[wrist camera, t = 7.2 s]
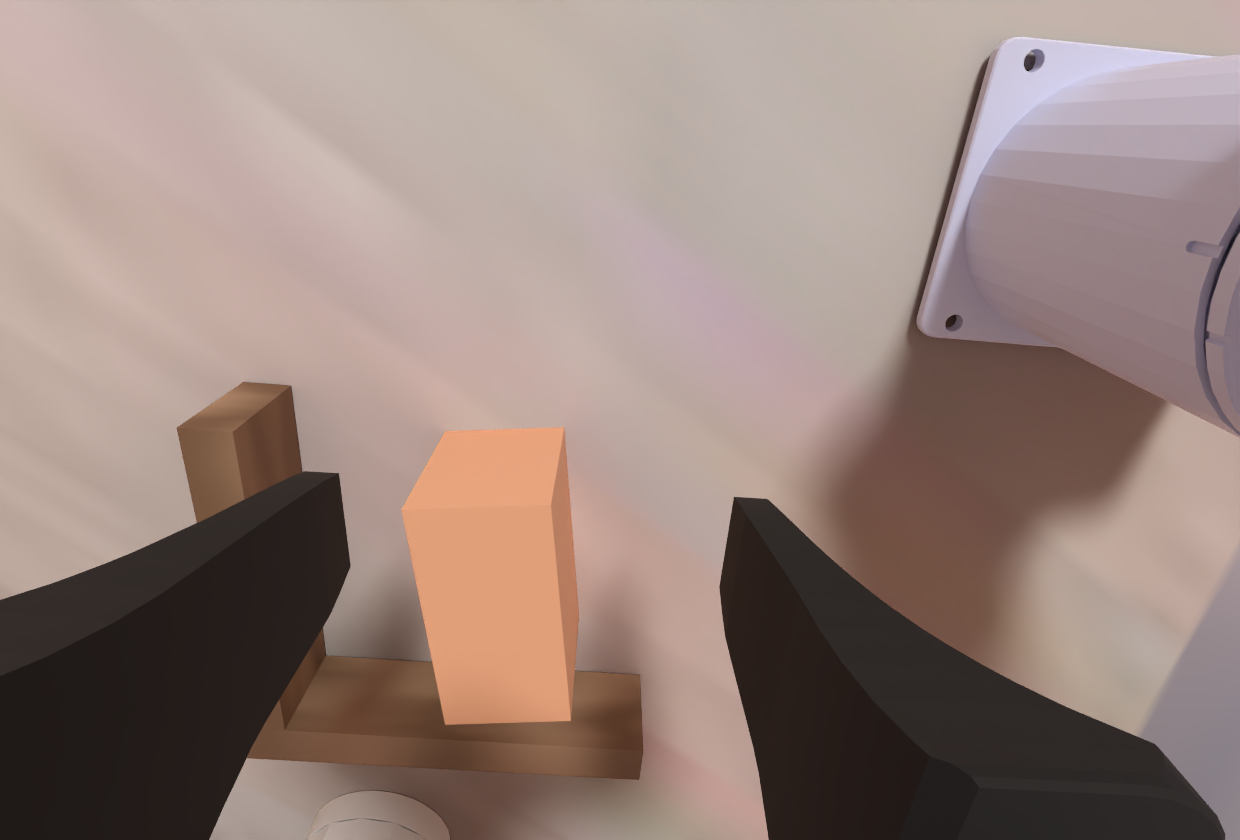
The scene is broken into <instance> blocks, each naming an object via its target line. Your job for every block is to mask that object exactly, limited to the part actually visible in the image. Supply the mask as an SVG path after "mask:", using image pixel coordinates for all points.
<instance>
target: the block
mask: <svg viewBox="0 0 1240 840" xmlns="http://www.w3.org/2000/svg"><path fill="white" fill-rule="evenodd" d="M401 510H402V515H403V520H404V525H405V530H406V535H407V540H408V545H409V550H410V555H411V560H412V564H413V569H414V574H415V579H416V584H417V589H418V594H419V599H420V604H421V609H422V614H423V619H424V623H425V628H426V633H427V638H428V643H429V648H430V653H431V658H432V663H433V668H434V673H435V678H436V682H437V687H438V692H439V697H440V702H441V707H442V712H443V717H444V722H445V725H454V724H487V723H521V722H554V721H571V713H572V700H573V687H574V674H575V660H576V647H577V634H578V621H579V610H578V598H577V585H576V572H575V559H574V546H573V533H572V521H571V508H570V495H569V482H568V469H567V456H566V444H565V431H564V427H561V428H531V429H502V430H472V431H445V433H444V434H443V436H442V438H441V440H440V441H439V443H438V445H437V447H436V449H435V450H434V452H433V454H432V456H431V458H430V459H429V461H428V463H427V465H426V467H425V468H424V470H423V472H422V474H421V475H420V477H419V479H418V481H417V483H416V484H415V486H414V488H413V490H412V492H411V493H410V495H409V497H408V499H407V501H406V502H405V504H404V506H403V508H402V509H401Z"/></svg>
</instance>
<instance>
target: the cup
mask: <svg viewBox="0 0 1240 840" xmlns="http://www.w3.org/2000/svg"><path fill="white" fill-rule="evenodd" d="M306 840H450V834H449V831H448V829H447V826H446V825H445V823H444V822H443V820H442V819H441V818H440V817H439V816H438V815H437V814H436V813H435V812H434V811H433V810H432V809H430V808H429V807H427V806H426V805H424V804H422V803H421V802H419V801H417V800H414V799H412V798H409V797H407V796H403V795H400V794H396V793H391V792H384V791H360V792H354V793H349V794H345V795H342V796H340V797H337V798H335V799H333V800H332V801H330V802H328V803H327V804H326V805H324V806H323V807H322V808H321V809H320V811H319V812H318V814H317V815H316V817H315V820H314V822H313V824H312V826H311V829H310V831H309V833H308V836H307V838H306Z"/></svg>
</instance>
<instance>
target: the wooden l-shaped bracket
mask: <svg viewBox="0 0 1240 840" xmlns="http://www.w3.org/2000/svg"><path fill="white" fill-rule="evenodd" d="M177 431H178V436H179V441H180V445H181V450H182V455H183V459H184V464H185V469H186V473H187V478H188V483H189V488H190V492H191V497H192V502H193V506H194V511H195V516H196V520H197V523H198V522H200V521H202V520H205V519H207V518H209V517H211V516H213V515H215V514H217V513H219V512H221V511H223V510H225V509H227V508H228V507H230V506H232V505H234V504H236V503H238V502H240V501H242V500H244V499H246V498H248V497H250V496H252V495H254V494H256V493H258V492H260V491H262V490H264V489H266V488H268V487H270V486H272V485H275V484H277V483H279V482H281V481H283V480H285V479H287V478H290V477H292V476H294V475H297V474H299V473H302V468H301V461H300V453H299V445H298V438H297V430H296V422H295V415H294V407H293V399H292V392H291V386H288V385H275V384H262V383H249V382H243V383H241V384H240V385H239V386H237V387H236V388H234V389H233V390H231V391H230V392H228V393H227V394H225V395H224V396H222V397H221V398H220V399H218V400H217V401H215V402H214V403H212V404H211V405H209V406H208V407H206V408H205V409H203V410H202V411H201V412H199V413H198V414H196V415H195V416H193V417H192V418H190V419H189V420H187V421H186V422H184V423H183V424H182V425H180V426H179V427H177ZM642 756H643V735H642V711H641V687H640V675H631V674H615V673H599V672H583V671H575V674H574V687H573V700H572V713H571V721H554V722H521V723H487V724H454V725H445V722H444V717H443V712H442V707H441V702H440V697H439V692H438V687H437V682H436V678H435V673H434V668H433V663H432V662H420V661H404V660H388V659H371V658H355V657H339V656H326V652H325V645H324V637H323V629H321V631H320V633H319V635H318V636H317V638H316V640H315V641H314V643H313V645H312V646H311V648H310V650H309V651H308V653H307V655H306V656H305V658H304V660H303V661H302V663H301V665H300V666H299V668H298V670H297V671H296V673H295V674H294V676H293V678H292V679H291V681H290V683H289V684H288V686H287V688H286V689H285V691H284V693H283V694H282V696H281V698H280V699H279V701H278V702H277V704H276V706H275V707H274V709H273V711H272V712H271V714H270V716H269V717H268V719H267V721H266V722H265V724H264V726H263V728H262V730H261V731H260V733H259V735H258V737H257V739H256V740H255V742H254V744H253V746H252V748H251V750H250V752H249V754H248V756H247V758H255V759H273V760H291V761H309V762H327V763H345V764H363V765H382V766H400V767H418V768H436V769H454V770H472V771H490V772H508V773H526V774H544V775H563V776H581V777H599V778H617V779H635V780H639V777H640V770H641V763H642Z"/></svg>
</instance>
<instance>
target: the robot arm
mask: <svg viewBox="0 0 1240 840" xmlns="http://www.w3.org/2000/svg"><path fill="white" fill-rule="evenodd" d="M1030 51H1031V52H1033V53H1034V55H1035V57H1036V60H1035V64H1034V66H1033V68H1032V69H1031V70H1030V71H1026V69H1025V67H1024V59H1025V57H1026V55H1027V54H1028V53H1029V52H1030ZM952 315H956V316H957V320H956V322H955V324H954V325H953V326H951V327H948V328H946V327H945V322H946V321H947V319H948V318H949V317H950V316H952ZM916 324H917V326H918V329H919V330H920V331H921V332H923V333H924V334H925V335H927V336H930V337H937V338H949V339H961V340H973V341H985V342H997V343H1009V344H1021V345H1033V346H1045V347H1057V348H1062V349H1064V350H1066V351H1068V352H1070V353H1072V354H1074V355H1076V356H1078V357H1080V358H1082V359H1084V360H1086V361H1088V362H1090V363H1092V364H1094V365H1096V366H1098V367H1100V368H1102V369H1104V370H1106V371H1108V372H1110V373H1112V374H1114V375H1116V376H1118V377H1120V378H1122V379H1124V380H1126V381H1128V382H1130V383H1132V384H1134V385H1136V386H1138V387H1140V388H1142V389H1144V390H1146V391H1148V392H1150V393H1152V394H1154V395H1156V396H1158V397H1160V398H1162V399H1164V400H1166V401H1168V402H1170V403H1172V404H1174V405H1176V406H1178V407H1180V408H1182V409H1184V410H1186V411H1188V412H1190V413H1192V414H1194V415H1196V416H1198V417H1200V418H1202V419H1204V420H1206V421H1208V422H1210V423H1212V424H1214V425H1216V426H1218V427H1220V428H1222V429H1224V430H1226V431H1228V432H1230V433H1232V434H1234V435H1236V436H1238V437H1240V54H1237V55H1229V56H1220V57H1214V56H1205V55H1195V54H1185V53H1175V52H1165V51H1156V50H1146V49H1136V48H1126V47H1116V46H1107V45H1097V44H1087V43H1077V42H1067V41H1058V40H1048V39H1038V38H1028V37H1015V38H1010V39H1006V40H1004V41H1002V42H1001V43H999V44H998V45H997V46H996V47H995V49H994V50H993V52H992V54H991V56H990V58H989V62H988V65H987V69H986V72H985V76H984V79H983V83H982V87H981V90H980V94H979V97H978V101H977V104H976V108H975V112H974V115H973V119H972V122H971V126H970V129H969V133H968V137H967V140H966V144H965V147H964V151H963V155H962V158H961V162H960V165H959V169H958V172H957V176H956V180H955V183H954V187H953V190H952V194H951V197H950V201H949V205H948V208H947V212H946V215H945V219H944V222H943V226H942V230H941V233H940V237H939V240H938V244H937V247H936V251H935V255H934V258H933V262H932V265H931V269H930V272H929V276H928V280H927V283H926V287H925V290H924V294H923V297H922V301H921V305H920V308H919V312H918V315H917V323H916ZM349 569H350V558H349V550H348V543H347V535H346V527H345V519H344V511H343V503H342V495H341V487H340V479H339V473H323V472H307V471H305V472H302V473H299V474H297V475H294V476H292V477H290V478H287V479H285V480H283V481H281V482H279V483H277V484H275V485H272V486H270V487H268V488H266V489H264V490H262V491H260V492H258V493H256V494H254V495H252V496H250V497H248V498H246V499H244V500H242V501H240V502H238V503H236V504H234V505H232V506H230V507H228V508H227V509H225V510H223V511H221V512H219V513H217V514H215V515H213V516H211V517H209V518H207V519H205V520H202V521H200V522H198V523H196V524H194V525H192V526H190V527H187V528H185V529H183V530H181V531H179V532H177V533H174V534H172V535H170V536H168V537H166V538H164V539H161V540H159V541H157V542H155V543H153V544H151V545H148V546H146V547H144V548H142V549H140V550H137V551H135V552H133V553H130V554H128V555H125V556H123V557H121V558H118V559H116V560H113V561H111V562H108V563H106V564H103V565H101V566H98V567H95V568H93V569H90V570H87V571H85V572H82V573H79V574H77V575H74V576H71V577H69V578H66V579H63V580H60V581H58V582H55V583H52V584H49V585H46V586H43V587H40V588H37V589H33V590H30V591H27V592H24V593H21V594H18V595H15V596H11V597H8V598H5V599H2V600H0V840H209V838H210V836H211V834H212V832H213V829H214V827H215V825H216V823H217V820H218V818H219V816H220V813H221V811H222V809H223V807H224V805H225V802H226V800H227V798H228V796H229V794H230V792H231V790H232V788H233V786H234V783H235V781H236V779H237V777H238V775H239V773H240V771H241V769H242V767H243V764H244V762H245V760H246V758H247V756H248V754H249V752H250V750H251V748H252V746H253V744H254V742H255V740H256V739H257V737H258V735H259V733H260V731H261V730H262V728H263V726H264V724H265V722H266V721H267V719H268V717H269V716H270V714H271V712H272V711H273V709H274V707H275V706H276V704H277V702H278V701H279V699H280V698H281V696H282V694H283V693H284V691H285V689H286V688H287V686H288V684H289V683H290V681H291V679H292V678H293V676H294V674H295V673H296V671H297V670H298V668H299V666H300V665H301V663H302V661H303V660H304V658H305V656H306V655H307V653H308V651H309V650H310V648H311V646H312V645H313V643H314V641H315V640H316V638H317V636H318V635H319V633H320V631H321V629H322V628H323V626H324V624H325V623H326V621H327V619H328V617H329V616H330V614H331V612H332V609H333V607H334V605H335V603H336V600H337V598H338V596H339V594H340V591H341V589H342V586H343V584H344V581H345V579H346V576H347V574H348V571H349ZM720 596H721V605H722V615H723V622H724V630H725V637H726V641H727V645H728V649H729V653H730V657H731V661H732V665H733V669H734V673H735V677H736V681H737V685H738V689H739V693H740V697H741V701H742V704H743V708H744V712H745V716H746V720H747V724H748V728H749V732H750V736H751V740H752V743H753V747H754V752H755V757H756V762H757V767H758V771H759V777H760V784H761V790H762V797H763V804H764V810H765V817H766V823H767V830H768V837H769V840H1225V833H1224V830H1223V828H1222V826H1221V824H1220V821H1219V819H1218V817H1217V815H1216V814H1215V813H1214V812H1213V810H1212V809H1211V808H1210V807H1209V806H1208V805H1207V804H1206V802H1205V801H1204V800H1203V799H1202V798H1201V796H1200V795H1199V794H1198V793H1197V792H1196V791H1195V790H1194V788H1193V787H1192V786H1191V785H1190V784H1189V783H1188V781H1187V780H1186V779H1185V778H1184V777H1183V776H1182V774H1181V773H1180V772H1179V771H1178V770H1177V769H1176V767H1175V766H1174V765H1173V764H1172V763H1171V762H1170V761H1169V759H1168V758H1167V757H1166V756H1165V755H1164V753H1163V752H1162V751H1161V750H1160V749H1159V748H1158V747H1157V746H1156V745H1155V744H1153V743H1151V742H1149V741H1146V740H1144V739H1141V738H1139V737H1137V736H1134V735H1132V734H1129V733H1127V732H1125V731H1122V730H1120V729H1117V728H1115V727H1113V726H1110V725H1108V724H1105V723H1103V722H1101V721H1098V720H1096V719H1093V718H1091V717H1089V716H1086V715H1084V714H1081V713H1079V712H1077V711H1074V710H1072V709H1070V708H1067V707H1065V706H1063V705H1061V704H1059V703H1057V702H1055V701H1052V700H1050V699H1048V698H1046V697H1044V696H1042V695H1040V694H1038V693H1036V692H1034V691H1032V690H1030V689H1028V688H1026V687H1024V686H1022V685H1019V684H1017V683H1015V682H1013V681H1012V680H1010V679H1008V678H1006V677H1004V676H1002V675H1000V674H998V673H996V672H994V671H993V670H991V669H989V668H987V667H985V666H983V665H982V664H980V663H978V662H976V661H975V660H973V659H971V658H969V657H968V656H966V655H964V654H963V653H961V652H959V651H957V650H956V649H954V648H952V647H950V646H949V645H947V644H945V643H944V642H942V641H941V640H939V639H937V638H936V637H934V636H933V635H931V634H929V633H928V632H926V631H925V630H923V629H922V628H920V627H919V626H917V625H916V624H914V623H913V622H911V621H910V620H909V619H907V618H906V617H904V616H903V615H901V614H900V613H898V612H897V611H895V610H894V609H893V608H891V607H890V606H888V605H887V604H886V603H884V602H883V601H882V600H880V599H879V598H878V597H876V596H875V595H874V594H873V593H871V592H870V591H869V590H868V589H866V588H865V587H864V586H863V585H861V584H860V583H859V582H858V581H856V580H855V579H854V578H853V577H852V576H850V575H849V574H848V573H847V572H846V571H844V570H843V569H842V568H841V567H840V566H839V565H837V564H836V563H835V562H834V561H833V560H832V559H831V558H830V557H828V556H827V555H826V554H825V553H824V552H823V551H822V550H821V549H820V548H819V547H817V546H816V545H815V544H814V543H813V542H812V541H811V540H810V539H809V538H808V537H807V536H806V535H805V534H804V533H803V532H802V531H801V530H800V529H799V528H797V527H796V526H795V525H794V524H793V523H792V522H791V521H790V520H789V519H788V518H787V517H786V516H785V515H784V514H783V513H782V512H781V511H780V510H779V509H778V508H777V507H776V506H775V505H773V504H772V503H771V502H770V501H769V500H768V499H758V498H741V497H734V501H733V507H732V513H731V519H730V525H729V532H728V538H727V544H726V550H725V556H724V562H723V569H722V575H721V581H720Z"/></svg>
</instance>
